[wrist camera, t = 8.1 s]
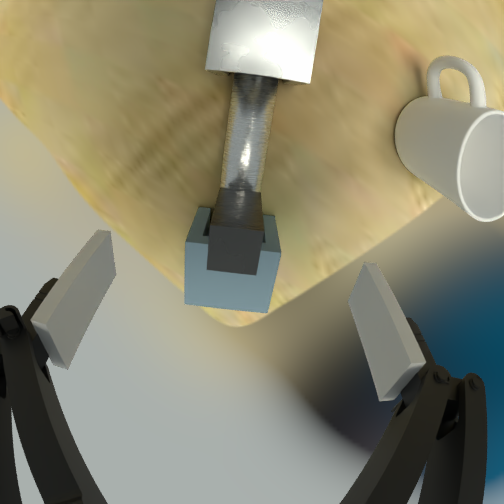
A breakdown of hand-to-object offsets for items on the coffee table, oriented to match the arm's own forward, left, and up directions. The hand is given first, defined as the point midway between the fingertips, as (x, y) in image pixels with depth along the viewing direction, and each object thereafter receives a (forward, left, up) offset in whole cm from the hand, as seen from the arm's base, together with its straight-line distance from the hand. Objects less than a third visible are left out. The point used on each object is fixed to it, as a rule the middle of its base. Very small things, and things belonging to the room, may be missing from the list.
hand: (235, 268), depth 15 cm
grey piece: (-3, 0, -12) cm, 12 cm away
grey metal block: (-14, 0, -13) cm, 19 cm away
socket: (+5, 0, -13) cm, 14 cm away
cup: (-10, +16, -13) cm, 23 cm away
